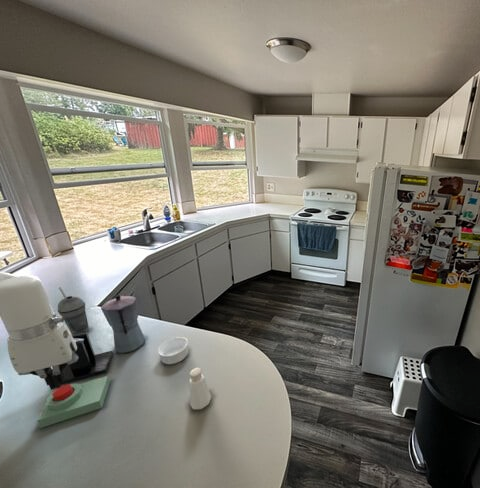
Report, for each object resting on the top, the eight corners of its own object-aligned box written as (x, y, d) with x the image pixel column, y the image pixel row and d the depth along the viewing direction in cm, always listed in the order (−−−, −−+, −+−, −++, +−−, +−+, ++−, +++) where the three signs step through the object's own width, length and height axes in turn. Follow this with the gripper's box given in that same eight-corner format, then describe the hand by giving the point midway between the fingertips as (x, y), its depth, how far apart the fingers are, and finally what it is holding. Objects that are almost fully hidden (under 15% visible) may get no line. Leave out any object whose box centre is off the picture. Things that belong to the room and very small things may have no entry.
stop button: (51, 403, 64) (49, 398, 64) (57, 392, 67) (55, 387, 67) (70, 398, 66) (68, 393, 65) (75, 387, 69) (73, 382, 68)
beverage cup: (92, 335, 94) (76, 288, 87) (65, 342, 90) (46, 294, 83) (95, 324, 100) (80, 279, 93) (70, 330, 96) (52, 284, 89)
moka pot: (143, 328, 98) (131, 284, 91) (152, 350, 88) (139, 301, 81) (112, 340, 92) (96, 293, 85) (118, 364, 82) (101, 313, 75)
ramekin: (174, 369, 81) (171, 358, 79) (153, 361, 83) (151, 351, 82) (195, 350, 89) (193, 340, 87) (176, 343, 91) (174, 334, 90)
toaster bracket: (54, 387, 73) (40, 355, 69) (66, 365, 81) (54, 335, 77) (106, 372, 79) (95, 342, 75) (113, 353, 86) (104, 324, 82)
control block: (40, 428, 63) (34, 415, 61) (56, 398, 70) (50, 386, 68) (101, 408, 68) (97, 395, 66) (110, 382, 75) (106, 371, 74)
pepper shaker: (200, 413, 68) (195, 383, 64) (185, 406, 69) (179, 376, 65) (215, 396, 72) (211, 367, 69) (201, 390, 74) (195, 361, 70)
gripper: (80, 310, 66) (98, 364, 72) (-3, 325, 59) (25, 383, 65) (69, 327, 59) (90, 385, 66) (-26, 346, 53) (8, 408, 59)
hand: (57, 384), depth 65 cm, fingers closed
